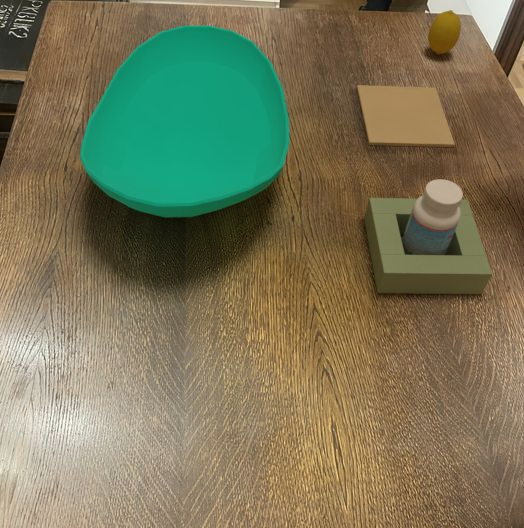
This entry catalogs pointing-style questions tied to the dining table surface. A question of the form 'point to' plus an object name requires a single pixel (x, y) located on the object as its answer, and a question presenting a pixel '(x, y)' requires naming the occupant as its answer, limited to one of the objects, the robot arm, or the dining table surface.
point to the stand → (423, 266)
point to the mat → (404, 116)
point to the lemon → (444, 32)
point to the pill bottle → (433, 219)
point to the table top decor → (188, 124)
